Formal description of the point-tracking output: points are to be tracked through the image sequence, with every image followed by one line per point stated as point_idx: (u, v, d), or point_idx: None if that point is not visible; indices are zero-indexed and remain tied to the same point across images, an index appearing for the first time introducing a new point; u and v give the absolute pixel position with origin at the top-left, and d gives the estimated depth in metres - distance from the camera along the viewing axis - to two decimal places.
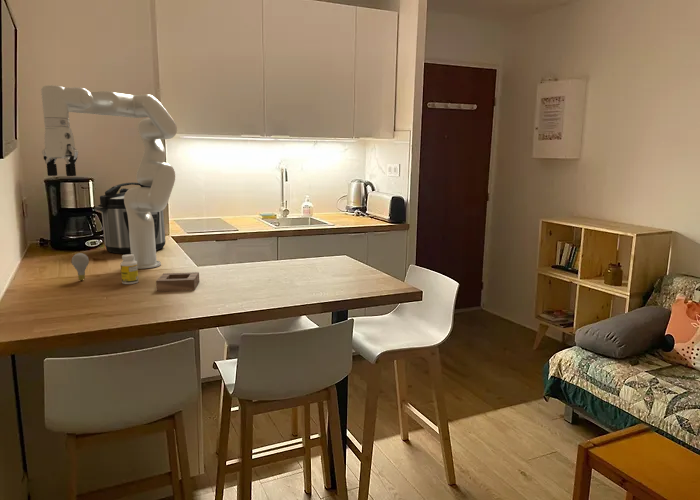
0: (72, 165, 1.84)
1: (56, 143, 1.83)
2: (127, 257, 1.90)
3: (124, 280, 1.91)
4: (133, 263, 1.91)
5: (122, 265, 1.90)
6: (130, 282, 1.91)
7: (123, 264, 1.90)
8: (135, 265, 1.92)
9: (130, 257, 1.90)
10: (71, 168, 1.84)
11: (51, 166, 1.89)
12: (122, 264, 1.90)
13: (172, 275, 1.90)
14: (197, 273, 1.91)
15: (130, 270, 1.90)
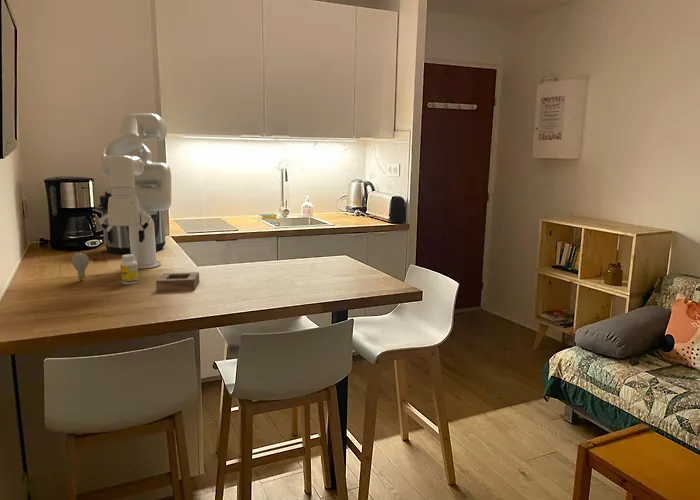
0: None
1: None
2: (127, 257, 1.90)
3: (124, 280, 1.91)
4: (133, 263, 1.91)
5: (122, 265, 1.90)
6: (130, 282, 1.91)
7: (123, 264, 1.90)
8: (135, 265, 1.92)
9: (130, 257, 1.90)
10: None
11: None
12: (122, 264, 1.90)
13: (172, 275, 1.90)
14: (197, 273, 1.91)
15: (130, 270, 1.90)
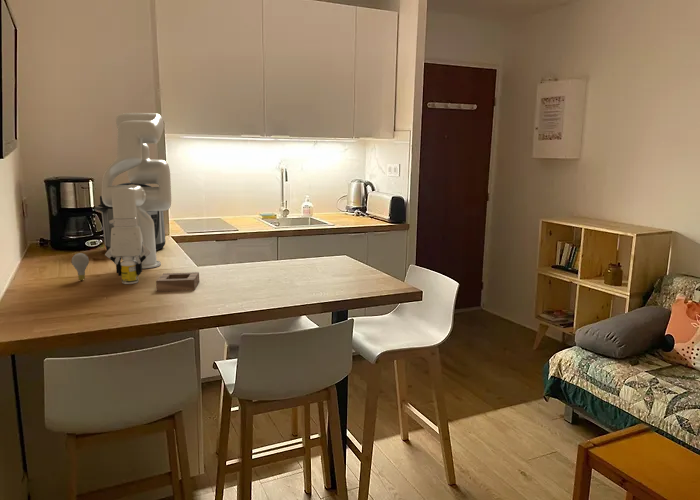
0: None
1: None
2: (127, 257, 1.90)
3: (124, 280, 1.91)
4: (133, 263, 1.91)
5: (122, 265, 1.90)
6: (130, 282, 1.91)
7: (123, 263, 1.90)
8: (135, 265, 1.92)
9: (130, 257, 1.90)
10: None
11: None
12: (122, 264, 1.90)
13: (172, 275, 1.90)
14: (197, 273, 1.91)
15: (130, 270, 1.90)
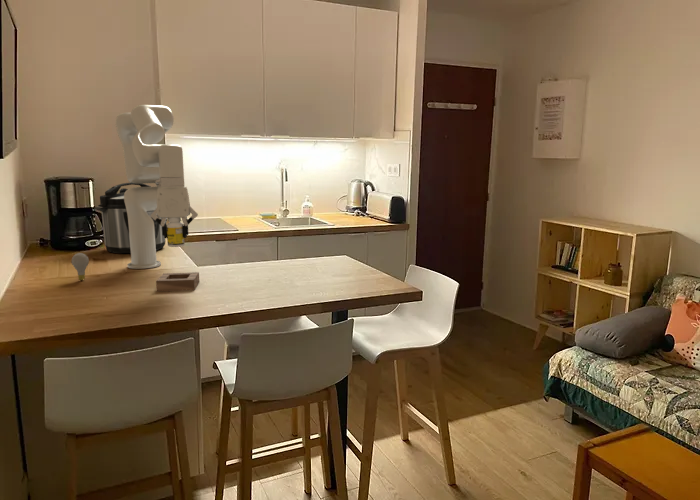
0: None
1: None
2: (174, 218, 1.81)
3: (171, 243, 1.82)
4: (180, 225, 1.82)
5: (168, 227, 1.81)
6: (177, 245, 1.82)
7: (170, 225, 1.81)
8: (182, 227, 1.83)
9: (177, 218, 1.82)
10: None
11: None
12: (168, 226, 1.81)
13: (172, 275, 1.90)
14: (197, 273, 1.91)
15: (177, 232, 1.81)
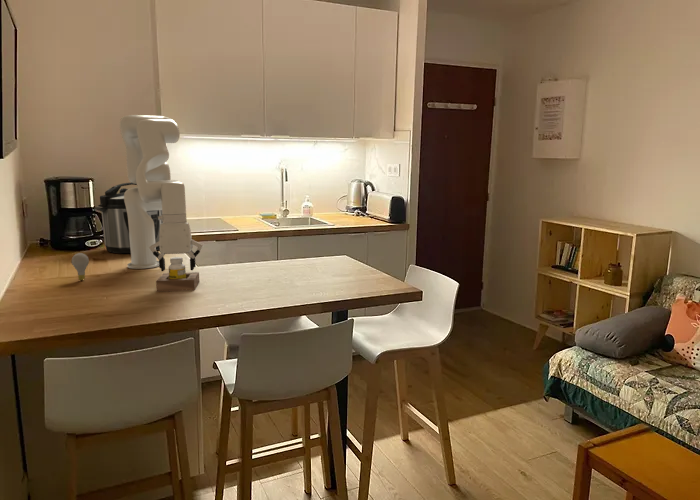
0: None
1: None
2: (176, 260, 1.83)
3: None
4: (182, 266, 1.84)
5: (170, 268, 1.84)
6: None
7: (172, 267, 1.83)
8: (184, 268, 1.85)
9: (179, 260, 1.84)
10: None
11: None
12: (170, 267, 1.84)
13: None
14: (197, 273, 1.91)
15: (179, 274, 1.84)
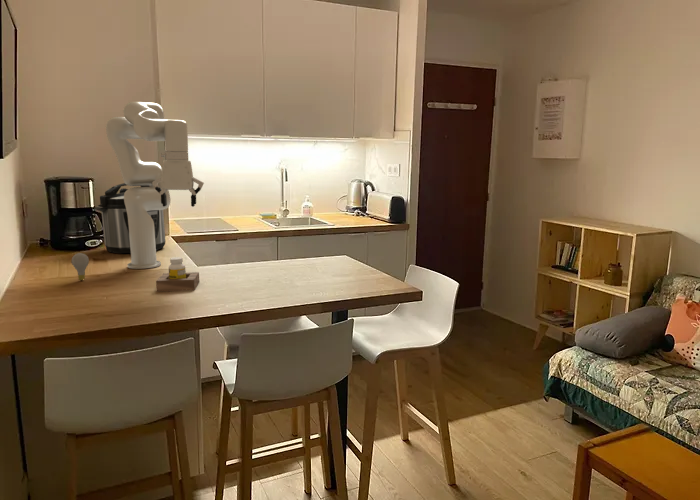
0: None
1: None
2: (176, 260, 1.83)
3: None
4: (182, 266, 1.84)
5: (170, 268, 1.84)
6: None
7: (172, 267, 1.83)
8: (184, 268, 1.85)
9: (179, 260, 1.84)
10: None
11: None
12: (170, 267, 1.84)
13: None
14: (197, 273, 1.91)
15: (179, 274, 1.84)
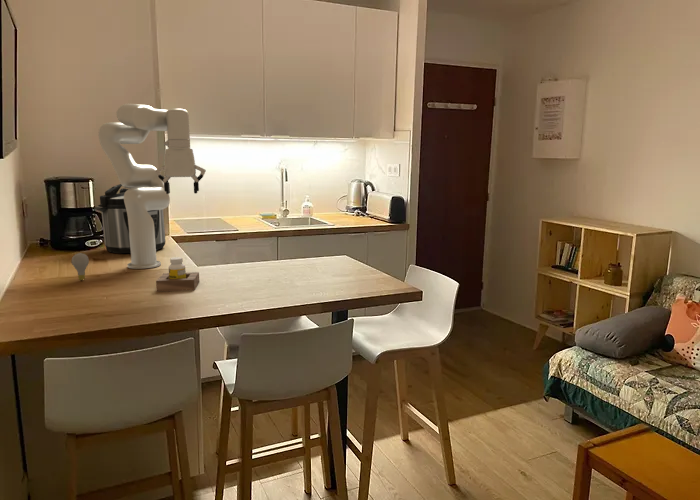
0: None
1: None
2: (176, 260, 1.83)
3: None
4: (182, 266, 1.84)
5: (170, 268, 1.84)
6: None
7: (172, 267, 1.83)
8: (184, 268, 1.85)
9: (179, 260, 1.84)
10: None
11: None
12: (170, 267, 1.84)
13: None
14: (197, 273, 1.91)
15: (179, 274, 1.84)
